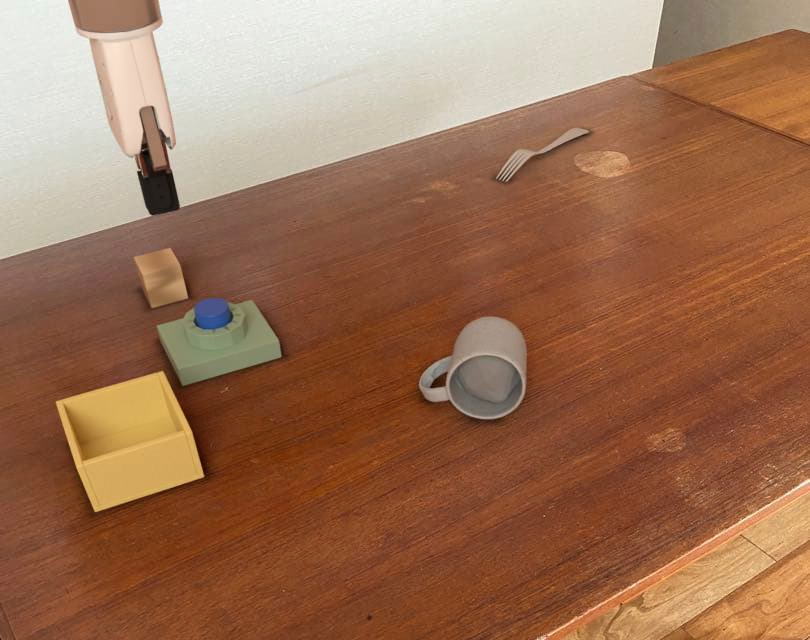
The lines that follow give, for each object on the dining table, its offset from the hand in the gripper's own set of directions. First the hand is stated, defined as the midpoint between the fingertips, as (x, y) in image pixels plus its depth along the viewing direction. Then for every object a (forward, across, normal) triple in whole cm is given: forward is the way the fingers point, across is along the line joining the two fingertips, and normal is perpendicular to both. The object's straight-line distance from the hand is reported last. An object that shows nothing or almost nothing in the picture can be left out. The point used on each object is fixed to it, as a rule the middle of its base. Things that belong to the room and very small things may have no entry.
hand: (163, 209), depth 89 cm
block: (+13, -7, -1) cm, 15 cm away
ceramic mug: (+13, +27, +22) cm, 37 cm away
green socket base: (+13, +7, +2) cm, 15 cm away
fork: (+13, -19, +58) cm, 62 cm away
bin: (+13, +21, -11) cm, 27 cm away
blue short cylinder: (+10, +7, +2) cm, 12 cm away
